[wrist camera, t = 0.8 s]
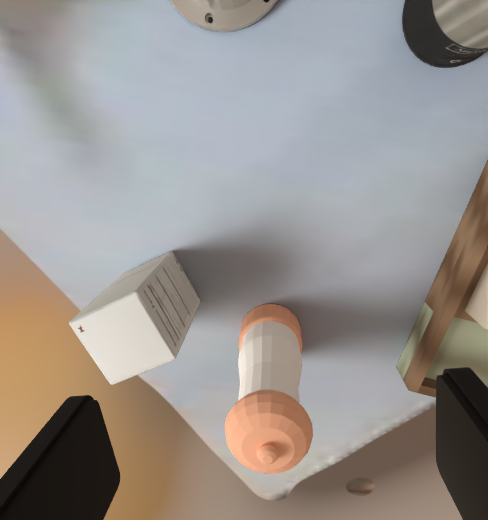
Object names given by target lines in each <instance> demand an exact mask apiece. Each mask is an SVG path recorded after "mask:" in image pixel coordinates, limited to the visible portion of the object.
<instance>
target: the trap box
mask: <svg viewBox="0 0 488 520" xmlns="http://www.w3.org/2000/svg"><path fill="white" fill-rule="evenodd" d="M487 263H488V161H487V163H486V165H485V167H484V170H483V172H482V174H481V176H480V179H479V181H478V183H477V185H476V188H475V190H474V192H473V195H472V197H471V199H470V201H469V204H468V206H467V208H466V210H465V213H464V215H463V217H462V219H461V222H460V224H459V226H458V228H457V231H456V233H455V235H454V237H453V240H452V242H451V244H450V246H449V249H448V251H447V253H446V255H445V258H444V260H443V262H442V264H441V267H440V269H439V271H438V273H437V276H436V278H435V280H434V282H433V285H432V287H431V289H430V291H429V294H428V296H427V298H426V300H425V303H424V305H423V307H422V309H421V312H420V314H419V316H418V318H417V321H416V323H415V325H414V327H413V330H412V332H411V334H410V337H409V339H408V341H407V343H406V346H405V348H404V350H403V352H402V355H401V357H400V359H399V361H398V364H397V366H396V368H397V370H398V371H399V373H400V375H401V377H402V379H403V381H404V383H405V385H406V386H407V388H408V390H409V391H413V392H417V393H420V394H424V395H428V396H432V397H436V378H437V376H438V375H443V371H444V369H449V368H462V367H469V368H471V369H472V370H473V371H474V372H475V374H476V375H477V376H478V377H479V378H480V379H481V380H482V382H483V383H484V384H485V385H486V386H487V387H488V329H484V328H483V327H482V326H481V325H480V324H479V323H478V322H477V321H475V320H474V319H473V318H472V317H471V316H470V315H469V314H468V313H467V312H465V311H464V310H465V308H466V306H467V304H468V302H469V300H470V298H471V296H472V294H473V292H474V290H475V288H476V286H477V284H478V282H479V279H480V277H481V275H482V273H483V271H484V269H485V267H486V265H487Z"/></svg>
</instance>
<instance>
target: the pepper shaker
mask: <svg viewBox="0 0 488 520" xmlns="http://www.w3.org/2000/svg"><path fill="white" fill-rule="evenodd" d="M302 348H303V347H302V336H301V329H300V324H299V322H298V319H297V317H296V316H295V315H294V314H293V313H292V312H291V311H290V310H289V309H287V308H285V307H283V306H280V305H276V304H263V305H261V306H258V307H255V308H254V309H252V310H251V311H250V312H249V313H247V315H246V316H245V318H244V320H243V322H242V327H241V332H240V337H239V350H240V355H239V359H238V364H239V374H240V391H239V399H238V401H237V402H236V403H235V405H234V406H233V408H232V409H231V411H230V412H229V414H228V415H227V418H226V422H225V426H224V427H225V433H226V439H227V445H228V446H229V448H230V450H231V452H232V453H233V455H234V456H235V457H236V459H237V460H238V461H240V462H241V463H242V464H243V465H244V466H245V467H247V468H249V469H251V470H253V471H257V472H261V473H265V474H269V473H280V472H284V471H287V470H289V469H291V468H293V467H294V466H296V465H297V464H298V463H299V462H300V461H301V460H302V459H303V457H304V456H305V455H306V454H307V453H308V450H309V447H310V444H311V441H312V437H313V430H312V423H311V420H310V418H309V416H308V414H307V412H306V411H305V409H304V408H303V407H302V406H301V405H300V400H299V383H300V376H301V370H302V360H301V351H302Z"/></svg>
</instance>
